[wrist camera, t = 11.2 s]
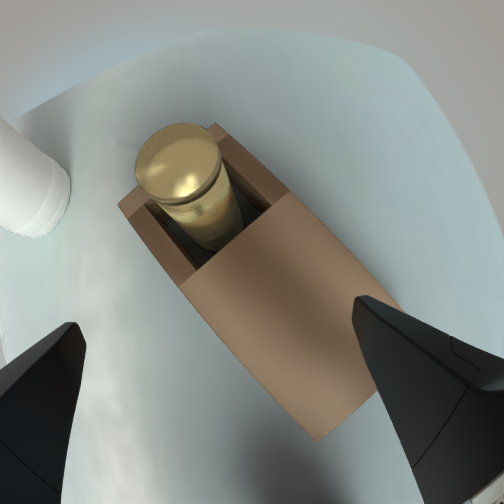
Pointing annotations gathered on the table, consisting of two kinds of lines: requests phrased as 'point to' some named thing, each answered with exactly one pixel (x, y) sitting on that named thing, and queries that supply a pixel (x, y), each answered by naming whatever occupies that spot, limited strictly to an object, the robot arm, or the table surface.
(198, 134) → the disc
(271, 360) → the jig
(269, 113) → the table surface
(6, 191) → the bottle
